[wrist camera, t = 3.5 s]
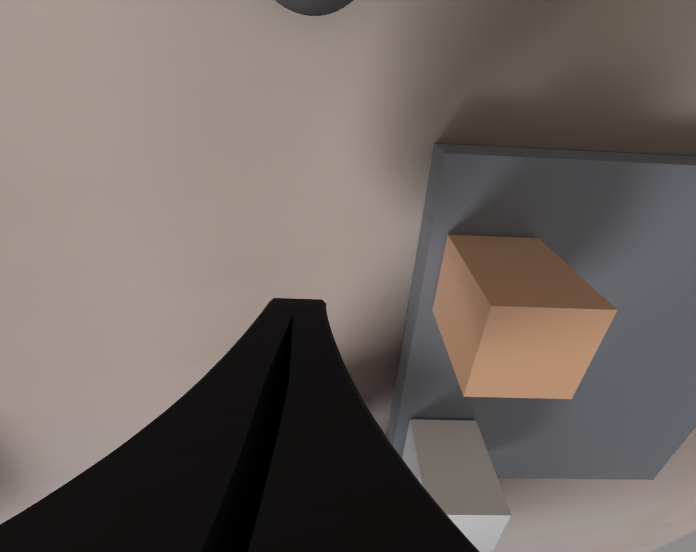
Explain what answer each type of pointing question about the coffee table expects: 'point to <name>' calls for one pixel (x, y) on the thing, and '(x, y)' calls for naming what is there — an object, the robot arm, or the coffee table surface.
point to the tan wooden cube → (516, 318)
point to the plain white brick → (458, 477)
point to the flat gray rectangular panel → (597, 270)
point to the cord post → (314, 6)
